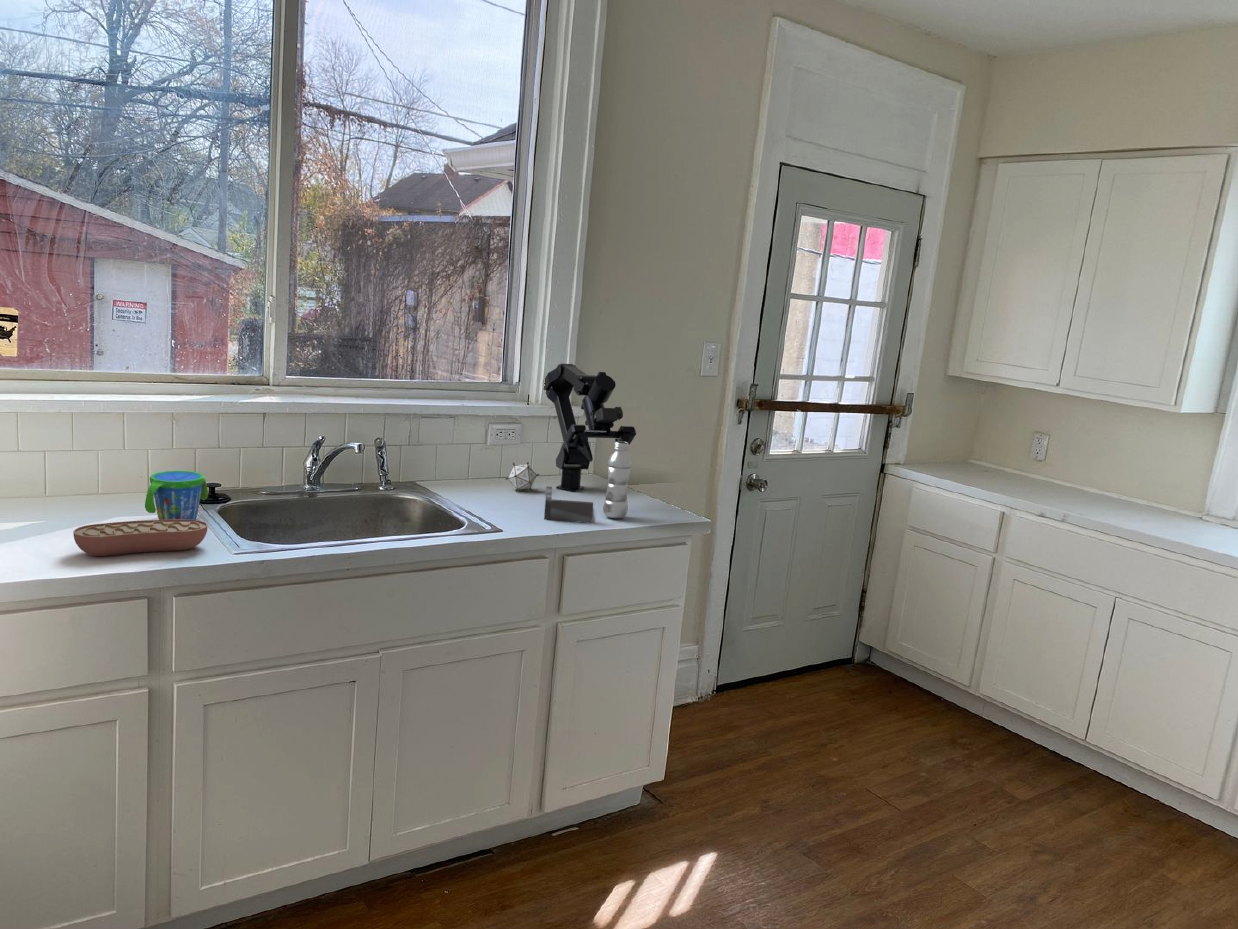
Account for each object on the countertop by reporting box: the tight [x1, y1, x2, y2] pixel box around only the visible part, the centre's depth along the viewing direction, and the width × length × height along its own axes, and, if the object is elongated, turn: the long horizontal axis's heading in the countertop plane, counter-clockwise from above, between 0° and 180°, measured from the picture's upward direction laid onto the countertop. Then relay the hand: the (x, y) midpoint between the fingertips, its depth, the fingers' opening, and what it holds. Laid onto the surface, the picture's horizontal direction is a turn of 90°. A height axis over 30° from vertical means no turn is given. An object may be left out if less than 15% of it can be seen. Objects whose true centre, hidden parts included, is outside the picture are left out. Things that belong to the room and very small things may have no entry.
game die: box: [504, 461, 540, 493], centre depth 254 cm, size 9×8×10 cm
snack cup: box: [144, 470, 209, 520], centre depth 195 cm, size 16×10×10 cm
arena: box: [543, 486, 594, 524], centre depth 233 cm, size 16×12×5 cm
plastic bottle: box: [602, 441, 633, 519], centre depth 232 cm, size 6×7×20 cm
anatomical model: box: [73, 519, 209, 557], centre depth 174 cm, size 23×10×5 cm, turn 124°
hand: (607, 460), depth 238 cm, fingers open, 9 cm apart
